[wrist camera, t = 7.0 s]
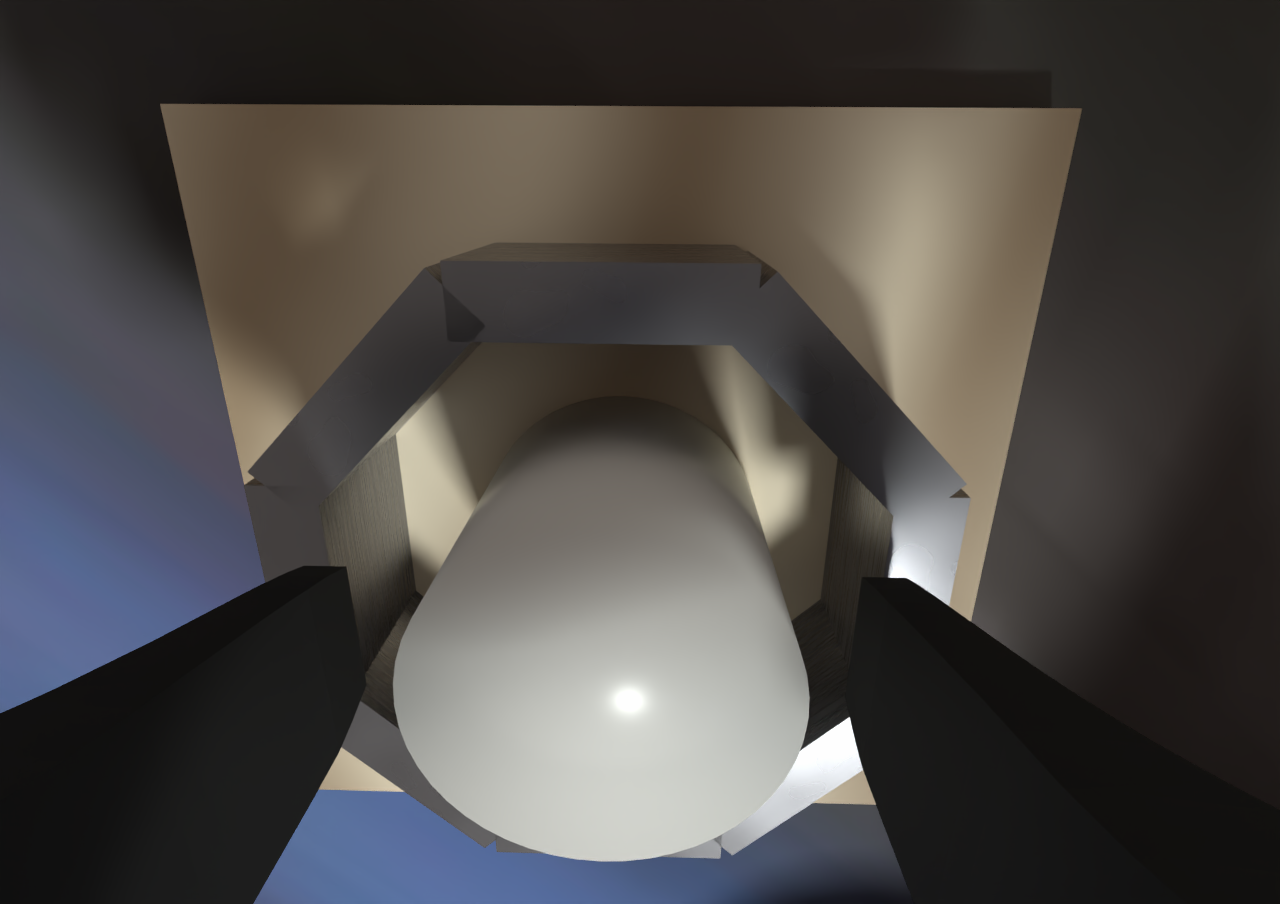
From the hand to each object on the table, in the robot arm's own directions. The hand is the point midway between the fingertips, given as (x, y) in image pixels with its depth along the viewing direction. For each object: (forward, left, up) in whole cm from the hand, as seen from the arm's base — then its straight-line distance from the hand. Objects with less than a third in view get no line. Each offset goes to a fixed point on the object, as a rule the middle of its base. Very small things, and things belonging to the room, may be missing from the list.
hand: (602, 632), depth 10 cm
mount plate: (0, 0, -4) cm, 4 cm away
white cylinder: (0, 0, -3) cm, 4 cm away
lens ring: (0, 0, -4) cm, 4 cm away
